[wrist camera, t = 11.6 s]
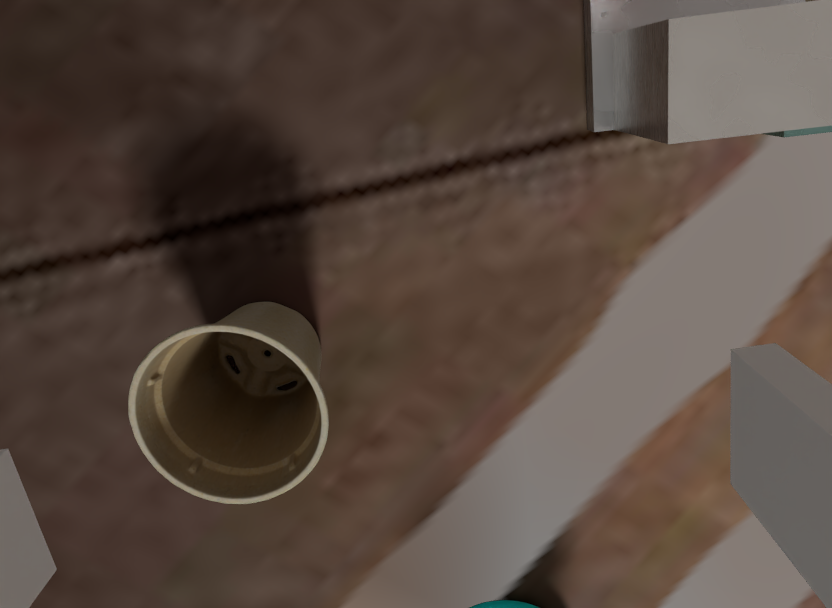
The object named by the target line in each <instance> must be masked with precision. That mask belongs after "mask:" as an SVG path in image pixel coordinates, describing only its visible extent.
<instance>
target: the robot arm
mask: <svg viewBox="0 0 832 608" xmlns="http://www.w3.org/2000/svg"><path fill="white" fill-rule="evenodd" d="M731 485H732V486H733V488H734V489H735V490H736V491H737V493H738V494H739V495H740V497H741V498H742V499H743V500H744V502H745V503H746V504H747V506H748V507H749V508H750V509H751V511H752V512H753V513H754V515H755V516H756V517H757V518H758V520H759V521H760V522H761V524H762V525H763V526H764V527H765V529H766V530H767V531H768V533H769V534H770V535H771V537H772V538H773V539H774V540H775V542H776V543H777V544H778V546H779V547H780V548H781V549H782V551H783V552H784V553H785V554H786V556H787V557H788V558H789V560H790V561H791V562H792V564H793V565H794V566H795V567H796V569H797V570H798V571H799V573H800V574H801V575H802V576H803V578H804V579H805V580H806V582H807V583H808V584H809V586H810V587H811V588H812V589H813V591H814V592H815V593H816V595H817V596H818V597H819V598H820V600H821V601H822V602H823V604H824V605H825V606H826V607H827V608H832V384H830V383H829V382H828V381H826V380H825V379H824V378H822V377H821V376H820V375H818V374H817V373H815V372H814V371H813V370H811V369H810V368H809V367H807V366H806V365H805V364H803V363H802V362H801V361H799V360H798V359H796V358H795V357H794V356H792V355H791V354H790V353H788V352H787V351H786V350H784V349H783V348H782V347H780V346H779V345H777V344H776V343H773V344H766V345H759V346H751V347H744V348H737V349H731ZM56 570H57V569H56V566H55V564H54V561H53V559H52V557H51V554H50V552H49V549H48V547H47V544H46V542H45V539H44V537H43V534H42V532H41V529H40V527H39V524H38V522H37V519H36V517H35V514H34V512H33V509H32V507H31V505H30V502H29V500H28V497H27V495H26V492H25V490H24V487H23V485H22V482H21V480H20V477H19V475H18V472H17V470H16V467H15V465H14V462H13V460H12V458H11V455H10V453H9V450H8V449H2V450H0V608H29V607H30V605H31V604H32V603H33V601H34V600H35V599H36V597H37V596H38V594H39V593H40V592H41V590H42V589H43V588H44V586H45V585H46V584H47V582H48V581H49V579H50V578H51V577H52V575H53V574H54V573H55V571H56Z"/></svg>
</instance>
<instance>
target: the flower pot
mask: <svg viewBox="0 0 832 608" xmlns="http://www.w3.org/2000/svg"><path fill="white" fill-rule="evenodd" d="M266 350H268V351H270V352H271V355H270V356H266V355H265V354H264V352H265V351H266ZM228 355H229V356H232V357H233V358H234V361H235V364H236V365H237V367H238V368H239V371H240V372H239V373H236V371H235V370H233V369H232V367H231V365H230V364H229V363H228V361H227V358H226V356H228ZM320 364H321V347H320V342H319V339H318V336H317V334H316V332H315V330H314V329H313V327H312V326H311V324H310V323H309V322H308V321H307V320H306V318H305V317H303V316H302V315H301V314H300V313H298V312H297V311H295V310H292V309H290V308H288V307H285V306H283V305H280V304H277V303H274V302H255V303H251V304H247V305H244V306H242V307H240V308H238V309H237V310H235V311H234V312H232V313H231V314H229V315H228V316H226V317H225V318H223V319H221V320H220V321H218V322H216V323H214V324H205V325H199V326H194V327H190V328H187V329H184V330H182V331H179V332H177V333H175V334H173V335H171V336H169V337H168V338H166V339H165V340H163V341H162V342H161V343H159V344H158V345H157V346H156V347H154V348H153V349H152V350H151V351H150V352H149V353H148V354H147V356H146V357H145V358H144V359H143V361H142V362H141V364H140V365H139V367H138V369H137V371H136V372H135V374H134V377H133V380H132V383H131V386H130V391H129V399H128V408H129V419H130V423H131V426H132V429H133V433H134V436H135V438H136V440H137V442H138V445H139V446H140V448H141V450H142V452H143V453H144V454H145V456H146V457H147V459H148V460H149V461H150V462H151V464H152V465H153V466H154V467H155V468H156V469H157V471H158V472H160V473H161V474H162V475H163V476H164V477H165V478H167V479H168V480H169V481H170V482H171V483H173V484H174V485H176V486H178V487H180V488H182V489H183V490H185V491H187V492H189V493H191V494H193V495H195V496H198V497H201V498H204V499H207V500H210V501H216V502H221V503H225V504H247V503H255V502H259V501H264V500H268V499H271V498H273V497H276V496H278V495H280V494H282V493H284V492H286V491H288V490H289V489H291V488H293V487H294V486H296V485H297V484H298V483H299V482H301V481H302V480H303V479H304V478H305V477H306V476H307V475H308V474H309V473H310V472H311V470H312V469H313V468H314V466H315V465H316V464H317V462H318V460H319V459H320V456H321V454H322V452H323V450H324V447H325V444H326V440H327V435H328V424H329V418H328V407H327V403H326V399H325V395H324V392H323V390H322V387H321V385H320V383H319V380H320ZM292 381H296V382H297V385H296V386H295V387H293V388H292V389H288V390H286V391H283V390H278V387H280V386H283V385H285V384H288V383H290V382H292Z"/></svg>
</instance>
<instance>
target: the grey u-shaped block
mask: <svg viewBox="0 0 832 608" xmlns="http://www.w3.org/2000/svg"><path fill="white" fill-rule="evenodd" d="M583 2H584V33H585V65H586V96H587V128H588V130H589V131H593V132H599V131H607V130H617V131H621V132H625V133H628V134H632V135H636V136H640V137H643V138H647V139H651V140H654V141H658V142H662V143H666V144H674V143H682V142H691V141H700V140H709V139H717V138H726V137H735V136H744V135H753V134H767V135H773V136H779V137H790V136H799V135H808V134H817V133H826V132H832V0H818V1H810V2H805V0H583Z"/></svg>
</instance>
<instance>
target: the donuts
mask: <svg viewBox="0 0 832 608" xmlns="http://www.w3.org/2000/svg"><path fill="white" fill-rule="evenodd" d="M470 608H539V607H537V606H535V605H532V604H529V603H525V602H520V601H513V600H496V601H489V602H484V603H481V604H478V605H475V606H472V607H470Z"/></svg>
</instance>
